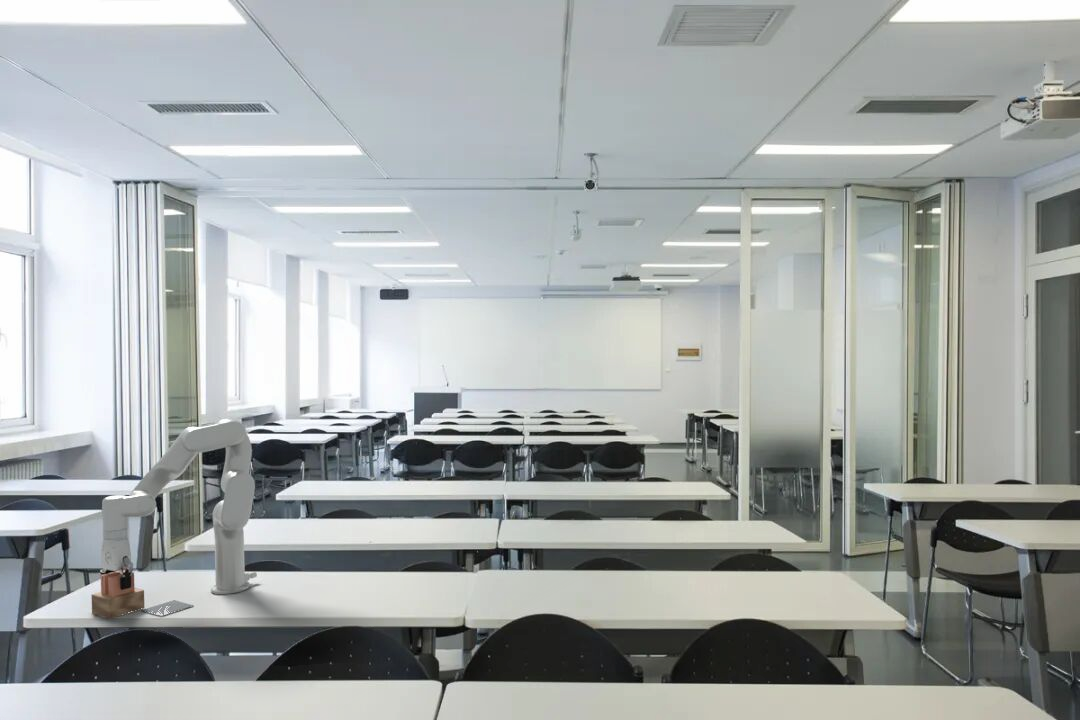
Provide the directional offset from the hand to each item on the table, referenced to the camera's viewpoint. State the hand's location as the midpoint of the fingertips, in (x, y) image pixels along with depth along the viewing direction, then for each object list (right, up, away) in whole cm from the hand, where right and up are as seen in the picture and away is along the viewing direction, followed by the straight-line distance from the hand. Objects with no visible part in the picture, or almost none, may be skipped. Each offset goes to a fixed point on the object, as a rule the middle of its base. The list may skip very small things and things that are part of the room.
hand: (117, 586), depth 240 cm
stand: (0, -8, 0) cm, 8 cm away
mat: (+16, -8, +1) cm, 18 cm away
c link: (0, -2, 0) cm, 2 cm away
